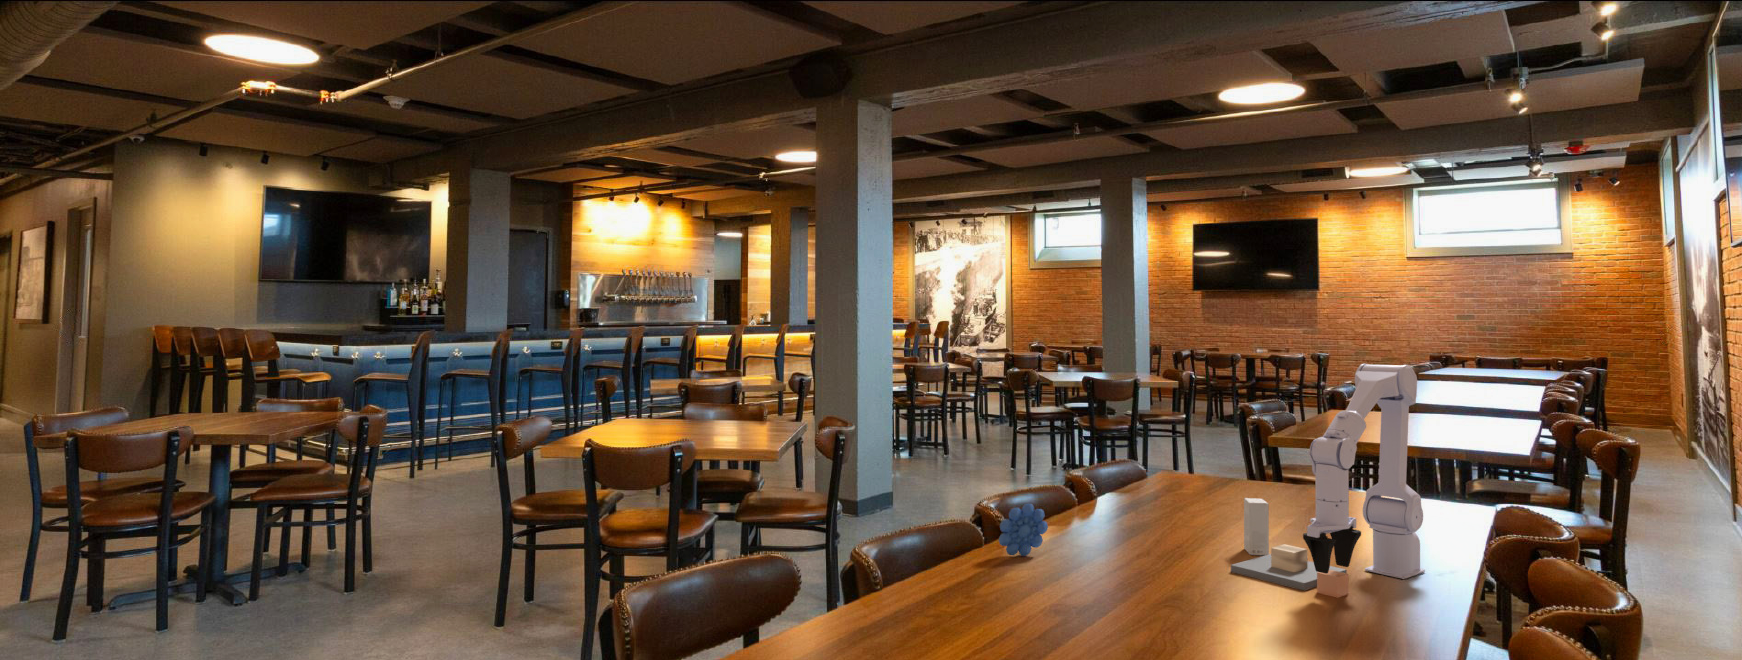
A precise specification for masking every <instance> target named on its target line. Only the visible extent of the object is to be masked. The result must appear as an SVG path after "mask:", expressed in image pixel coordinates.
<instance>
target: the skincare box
mask: <svg viewBox="0 0 1742 660" xmlns="http://www.w3.org/2000/svg"><path fill="white" fill-rule="evenodd" d="M1269 508H1270V507H1269V502H1267V501H1266V500H1264V498H1255V497H1254V498H1249V497H1244V498H1243V548H1244V550H1245V551H1246V552H1247V553H1248V555H1251V556H1265V555H1269V554H1270V550H1269V549H1270V546H1269V545H1270V542H1269V541H1270V538H1269V537H1270V534H1269V533H1270V530H1269V529H1270V527H1269V526H1270V525H1269V523H1270V521H1269V519H1270V518H1269V516H1270V515H1269V514H1270V513H1269Z"/></svg>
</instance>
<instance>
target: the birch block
mask: <svg viewBox="0 0 1742 660" xmlns="http://www.w3.org/2000/svg"><path fill="white" fill-rule="evenodd" d="M1270 554H1271V567H1274V568H1278V569H1283V570H1287V571H1291V572H1297V571H1300V570H1303V569H1307V561H1308V549H1307V548H1303V547H1299V546H1294V545H1291V544H1285V543H1284V544H1280V545H1277V546H1273V547H1271V548H1270Z"/></svg>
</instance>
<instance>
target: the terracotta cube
mask: <svg viewBox="0 0 1742 660" xmlns="http://www.w3.org/2000/svg"><path fill="white" fill-rule="evenodd" d="M1349 590H1350V589H1349V573H1348V572H1347V573H1342V572H1338V571H1334V570H1329V572H1328V573H1327V574H1325V573H1321V572H1317V587H1316V591H1317V592H1316V593H1318V594H1322V595H1325V596H1330V597H1334V598H1341V597H1345V596H1347V595H1349V593H1350V591H1349Z"/></svg>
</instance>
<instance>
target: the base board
mask: <svg viewBox="0 0 1742 660" xmlns="http://www.w3.org/2000/svg"><path fill="white" fill-rule="evenodd" d="M1329 570H1334V571H1338V572H1342V573H1347V574H1348V571H1347V569H1346V568H1341V567H1336V566H1331V565H1330V568H1329ZM1230 572H1231V573H1233V574H1238V575H1242V576H1246V577H1249V578H1253V579H1256V580H1257V579H1258V580H1261V581H1266V582H1268V583H1273V584H1277V585H1280V586H1285V587H1289V588H1293V589H1297V590H1301V591H1307V590H1310V589H1314V588H1317V571H1316V569H1315V566H1314V562H1313V561H1309V560H1307V569H1303V570H1300V571H1297V572H1291V571H1287V570H1283V569H1278V568H1274V567H1271V553H1269V555H1261V556H1259V557H1254V558H1251V559H1248V560H1244V561H1241V562H1236V563H1233V564H1230Z"/></svg>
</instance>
